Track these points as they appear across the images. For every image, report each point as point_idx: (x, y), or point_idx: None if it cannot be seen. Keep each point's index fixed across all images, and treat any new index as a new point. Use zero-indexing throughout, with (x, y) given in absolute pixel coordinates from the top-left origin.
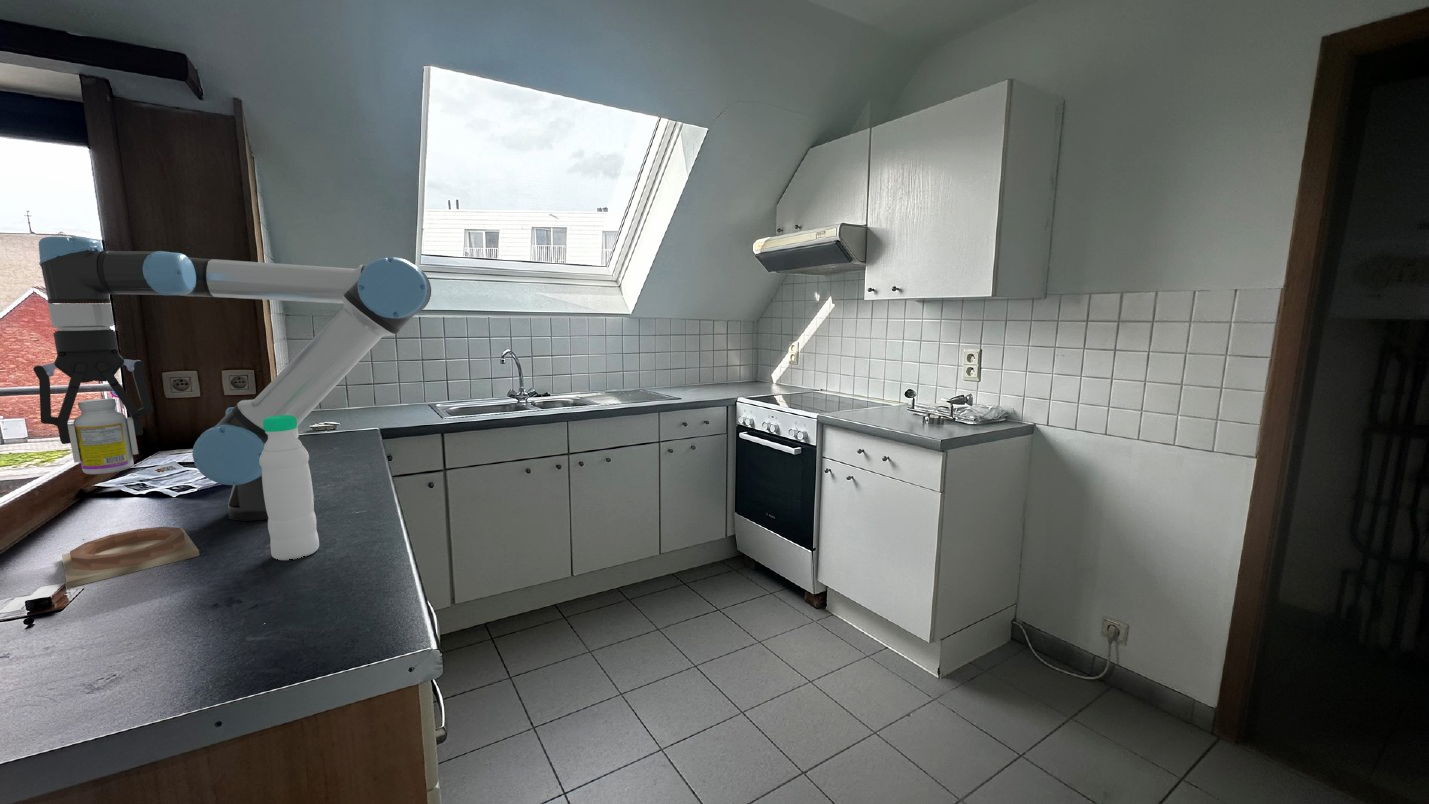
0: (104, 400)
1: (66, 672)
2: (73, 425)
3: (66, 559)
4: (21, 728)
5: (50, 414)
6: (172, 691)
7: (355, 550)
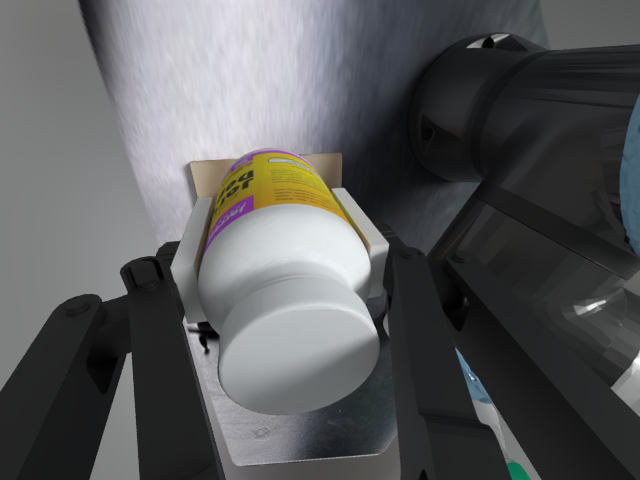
0: (334, 380)
1: (243, 418)
2: (205, 320)
3: (201, 196)
4: (232, 451)
5: (116, 382)
6: (289, 448)
7: None
